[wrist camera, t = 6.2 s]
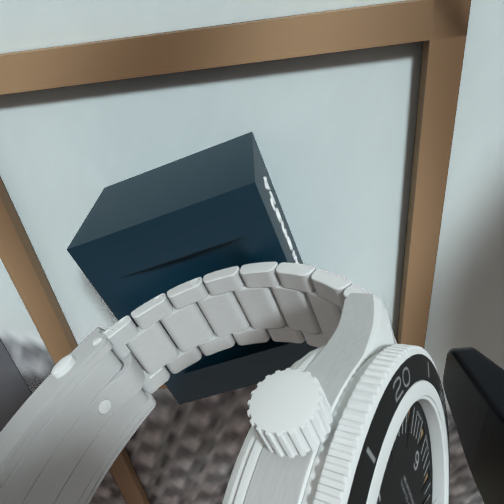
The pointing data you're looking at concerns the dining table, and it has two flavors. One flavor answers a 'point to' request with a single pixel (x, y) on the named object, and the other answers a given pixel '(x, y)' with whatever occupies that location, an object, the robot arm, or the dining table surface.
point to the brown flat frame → (249, 51)
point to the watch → (230, 351)
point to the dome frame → (10, 388)
